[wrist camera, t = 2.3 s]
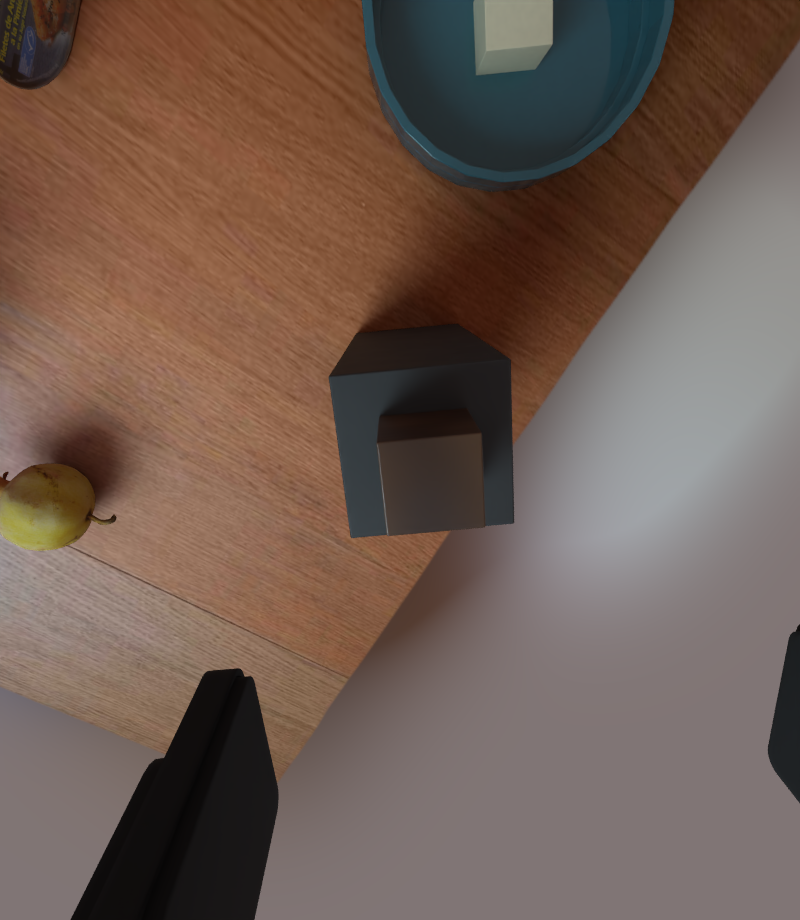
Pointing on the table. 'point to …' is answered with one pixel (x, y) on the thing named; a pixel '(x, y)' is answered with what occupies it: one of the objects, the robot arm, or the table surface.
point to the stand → (420, 409)
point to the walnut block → (431, 472)
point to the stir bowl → (510, 86)
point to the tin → (35, 40)
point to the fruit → (46, 507)
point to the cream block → (511, 34)
